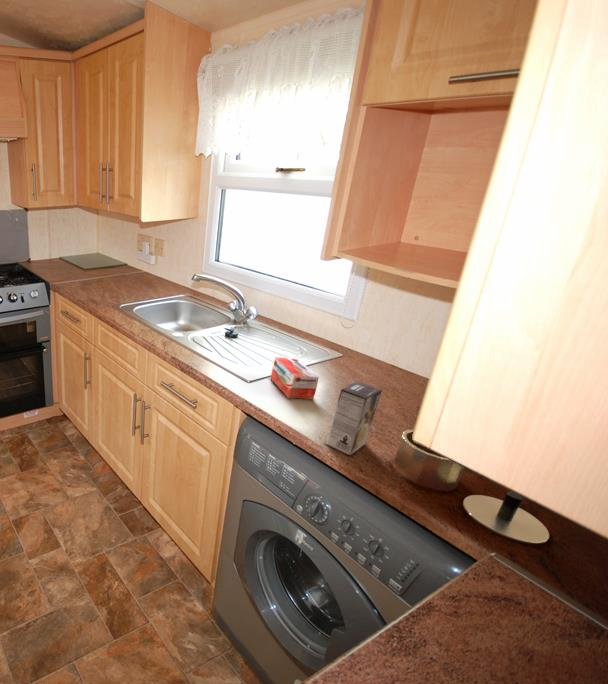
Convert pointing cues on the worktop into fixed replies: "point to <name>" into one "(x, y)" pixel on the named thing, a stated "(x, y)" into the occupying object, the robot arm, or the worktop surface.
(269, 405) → the worktop surface
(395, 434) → the worktop surface
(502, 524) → the lid
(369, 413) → the coffee box
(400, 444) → the pot
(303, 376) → the medicine box
